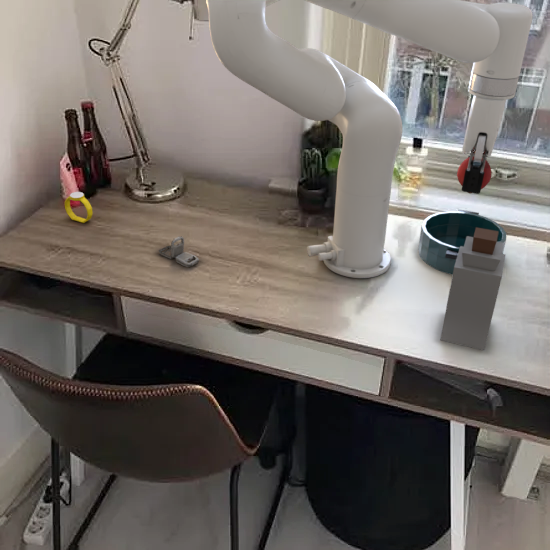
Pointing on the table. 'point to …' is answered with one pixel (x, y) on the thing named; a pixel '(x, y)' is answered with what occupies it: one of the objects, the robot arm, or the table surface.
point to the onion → (465, 165)
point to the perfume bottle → (474, 290)
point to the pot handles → (452, 253)
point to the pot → (451, 236)
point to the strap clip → (179, 253)
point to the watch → (80, 197)
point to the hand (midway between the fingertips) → (472, 183)
